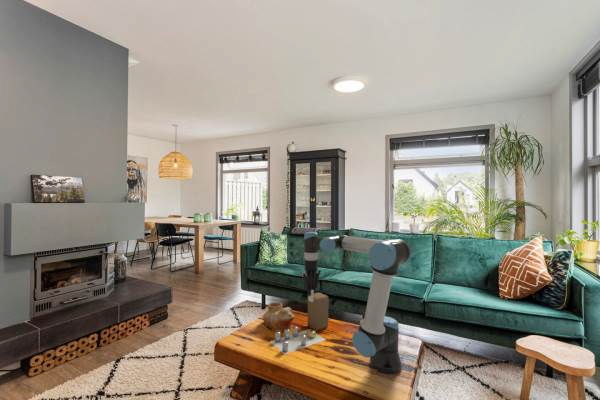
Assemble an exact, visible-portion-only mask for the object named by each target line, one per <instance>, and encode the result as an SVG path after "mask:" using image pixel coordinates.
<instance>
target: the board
mask: <svg viewBox="0 0 600 400" xmlns="http://www.w3.org/2000/svg"><path fill="white" fill-rule="evenodd" d="M307 330H310V328H309V329H306V330H302V331H298V337H294V336H293V333H292V334H290V339H289V340H287V341H288V352H286V353H284V352H282V341H284V340H285V339H284V336H283V337H282V336H281V342H279V343H276V342H275V339H274V340H270V341H269V343H271V345H273V346H274V347H275V348H276V349H278V351H280V352H281V353H282V354H283V355H287V354H290V353H293V352H295V351H298V350H301V349H304V348H306V347H310V346H312V345H315V344H318V343H321V342H324V341H326V340H327V339H326V338H324V337H323V336H321V335H320V334H318V333H316V335H315V338H312V339H311V338H308V337H307ZM303 334H304V335H306V346H301V335H303Z"/></svg>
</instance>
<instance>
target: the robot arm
mask: <svg viewBox="0 0 600 400" xmlns="http://www.w3.org/2000/svg"><path fill="white" fill-rule="evenodd" d="M303 235H304V236H303V243H304V244H303V247H304V251H303V252H304V254H303V255H304V256H303V257H304V261H303V262H304V263H303V264H304V266H303V267H304V270H303V272H300V275H301V277H302V282H303V286H304V289H305V290H307V297H308V296H309V301H311V302H313V301H314V293H315V290H316V289H317V288H318V286H319V280H320V275H321V272H322V271H321V270H320V269H318V265H319V264H318V261H319V260H318V258H319V257H318V251H320V252H324V253H331V252H333V251H334V250H346V251H352V252H358V253H364V254H367V257H368V261H369V264H370V269H371V271H372V272H373V273H372V275H371V276H372V277H371V283H370V288H369V292H368V296H367V303H366V309H365V311H364V312H365V313H364V318H363V319H361V320H360V321H359V326H358V330H356V331H354V333H353V334H352V339H351V340H352V345H353V347H354V348H355V350H356V352H357V353H358V354H359V355H360V356H361V357H364V358H369V364H370V366H371V368H373V369H374V370H375V371H378V372H380V373H384V374H389V375H390V374H396V373H400V371H402V369H403V368H402V367H403V366H402V365H403V364H402V360H401V357H400V353H399V331H400V328H399V322H398V321H397V320H396V319H395V318H394V317H391V316H386V313H387V308H388V302H389V297H390V293H391V289H392V288H391V287H392V283H393V278H394V277H396V276H398V272H399V267H400V266H401V265H403V264H406V263H407V262H408V261H409V260H410V259H411V256H412V250H411V246H410V245H409V244H408V243H407V242H406V241H405V240H404V239H400V238H394V239H393V238H386V239H385V240H384V239H375V238H365V237H356V236H348V235H345V234H338V235H330V236H329V235H328V236H318V232H316V231H307V232H304V234H303Z"/></svg>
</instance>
